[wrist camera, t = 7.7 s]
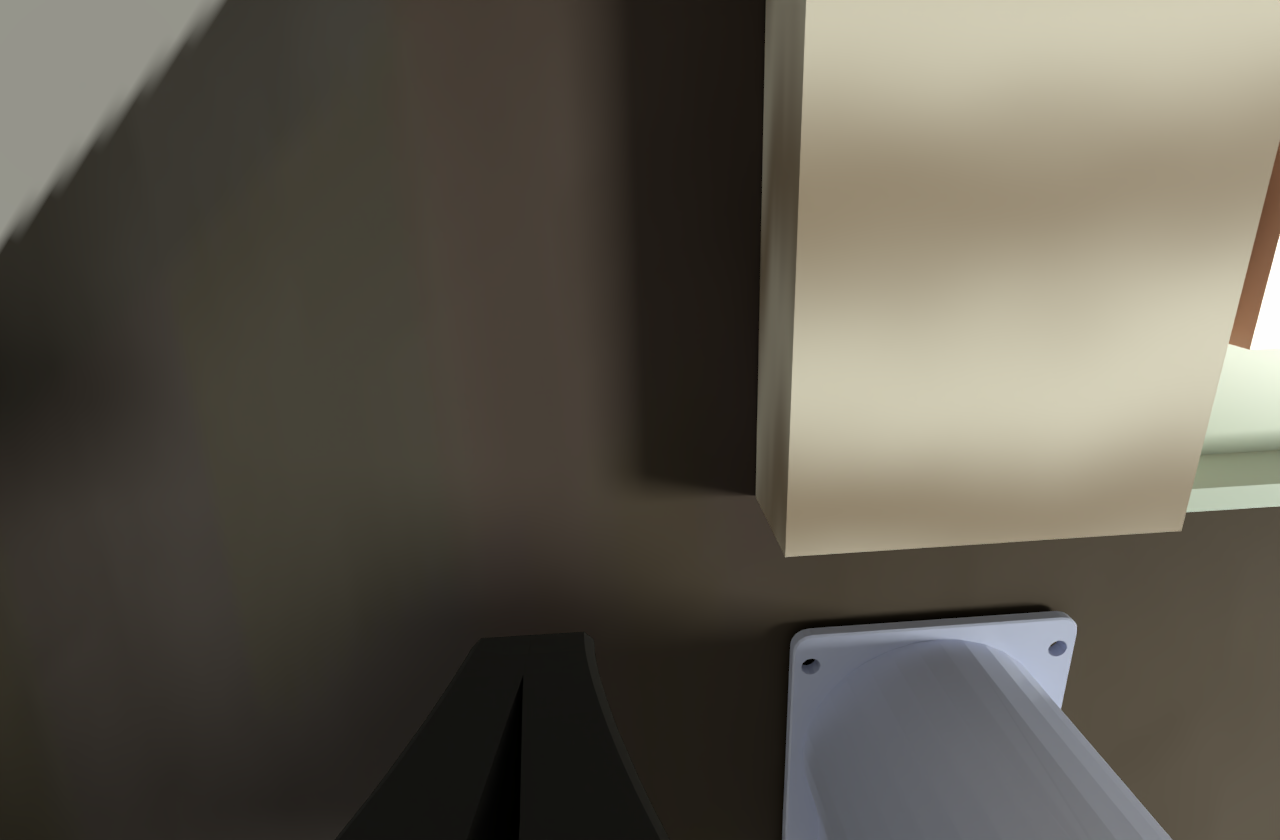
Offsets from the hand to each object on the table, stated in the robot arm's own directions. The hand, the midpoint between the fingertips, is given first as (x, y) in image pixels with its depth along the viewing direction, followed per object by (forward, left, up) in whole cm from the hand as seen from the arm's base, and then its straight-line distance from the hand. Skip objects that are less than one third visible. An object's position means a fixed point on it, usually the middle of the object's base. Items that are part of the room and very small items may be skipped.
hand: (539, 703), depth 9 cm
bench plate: (+5, -9, -9) cm, 14 cm away
